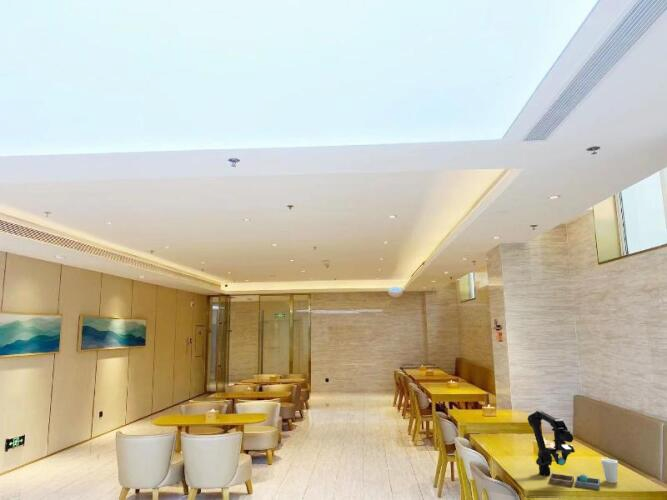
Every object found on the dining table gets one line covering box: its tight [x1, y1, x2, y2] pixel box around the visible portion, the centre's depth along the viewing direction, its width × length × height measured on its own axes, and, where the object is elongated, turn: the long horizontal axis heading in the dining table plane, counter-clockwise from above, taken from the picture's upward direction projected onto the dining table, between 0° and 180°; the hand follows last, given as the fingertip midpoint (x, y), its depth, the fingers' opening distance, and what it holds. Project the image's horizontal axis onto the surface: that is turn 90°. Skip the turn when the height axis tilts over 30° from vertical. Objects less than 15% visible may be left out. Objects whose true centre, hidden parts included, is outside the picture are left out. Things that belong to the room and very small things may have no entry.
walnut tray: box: [549, 473, 575, 488], centre depth 305 cm, size 13×13×3 cm
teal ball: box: [557, 456, 566, 466], centre depth 307 cm, size 5×5×5 cm
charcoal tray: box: [574, 475, 601, 491], centre depth 299 cm, size 13×13×3 cm
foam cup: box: [600, 458, 619, 484], centre depth 308 cm, size 10×9×13 cm
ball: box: [578, 473, 589, 483], centre depth 303 cm, size 5×5×5 cm
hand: (561, 463), depth 306 cm, fingers closed on teal ball, 5 cm apart
